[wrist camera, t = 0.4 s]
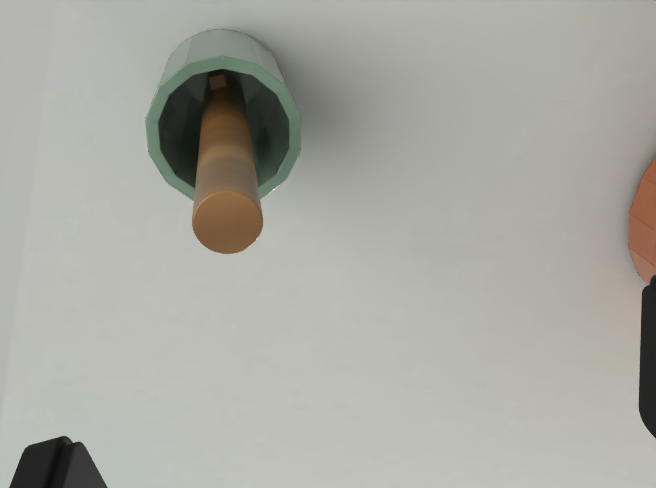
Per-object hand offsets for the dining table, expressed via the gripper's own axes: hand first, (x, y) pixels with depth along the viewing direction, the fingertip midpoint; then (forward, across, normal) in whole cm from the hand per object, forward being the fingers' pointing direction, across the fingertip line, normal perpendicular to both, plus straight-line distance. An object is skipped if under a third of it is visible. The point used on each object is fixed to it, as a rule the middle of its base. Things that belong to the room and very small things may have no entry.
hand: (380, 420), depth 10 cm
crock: (+25, +2, 0) cm, 25 cm away
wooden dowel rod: (+25, +2, 0) cm, 25 cm away
